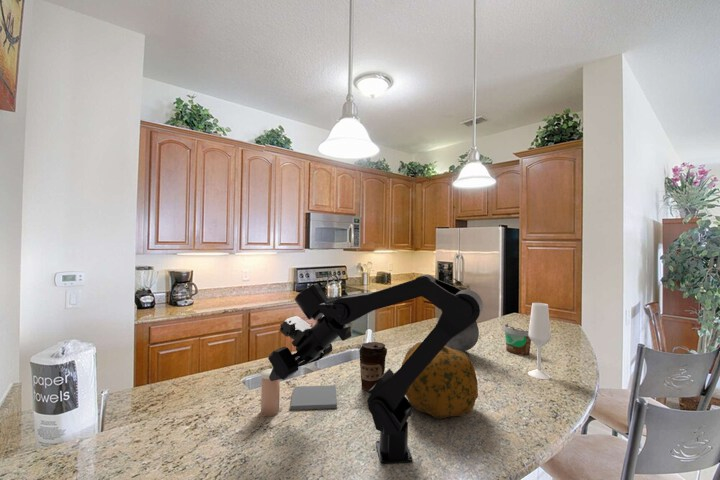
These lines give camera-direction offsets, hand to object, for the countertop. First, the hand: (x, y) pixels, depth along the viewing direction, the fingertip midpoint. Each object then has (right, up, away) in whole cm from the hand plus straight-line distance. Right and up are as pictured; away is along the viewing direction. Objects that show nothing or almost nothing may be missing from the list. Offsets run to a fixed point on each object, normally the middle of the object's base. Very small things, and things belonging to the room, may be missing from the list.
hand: (283, 372), depth 78 cm
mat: (+6, -11, +9) cm, 16 cm away
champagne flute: (+80, -13, +28) cm, 86 cm away
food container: (+82, -13, +51) cm, 97 cm away
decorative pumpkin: (+40, -12, +6) cm, 42 cm away
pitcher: (+57, -13, +49) cm, 76 cm away
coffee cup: (+23, -12, +16) cm, 30 cm away
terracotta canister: (-4, -11, +2) cm, 11 cm away
